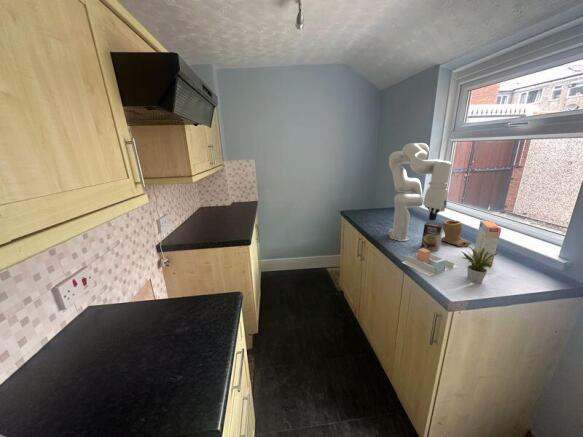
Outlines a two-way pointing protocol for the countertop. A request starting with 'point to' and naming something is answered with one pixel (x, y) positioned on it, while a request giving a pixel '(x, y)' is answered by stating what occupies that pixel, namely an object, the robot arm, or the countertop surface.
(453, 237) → the tan piece
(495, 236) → the cracker box
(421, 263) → the wall shelf
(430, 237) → the coffee box
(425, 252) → the peach cardboard carton
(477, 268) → the house plant
